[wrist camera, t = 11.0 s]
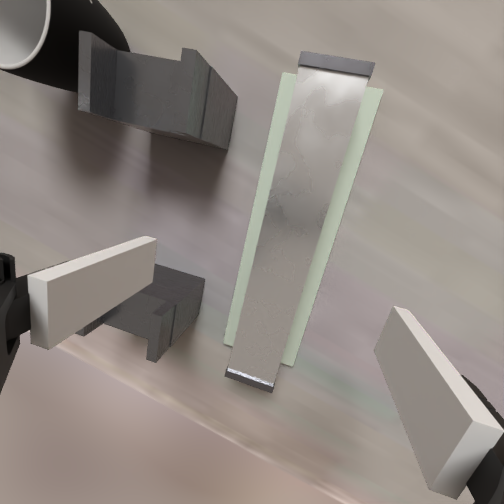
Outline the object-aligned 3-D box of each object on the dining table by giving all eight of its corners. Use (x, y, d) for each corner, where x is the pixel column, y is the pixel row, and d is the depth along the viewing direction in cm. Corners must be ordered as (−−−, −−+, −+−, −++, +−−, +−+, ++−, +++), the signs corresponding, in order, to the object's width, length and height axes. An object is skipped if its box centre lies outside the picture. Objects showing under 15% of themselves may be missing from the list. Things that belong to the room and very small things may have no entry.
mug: (156, 36, 26) (65, -51, 16) (125, 123, 29) (33, 93, 19) (59, -23, 26) (-85, -141, 17) (39, 68, 29) (-93, 13, 20)
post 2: (136, 293, 34) (74, 333, 25) (139, 258, 33) (74, 287, 24) (198, 314, 33) (156, 363, 24) (205, 278, 31) (162, 317, 23)
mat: (224, 340, 33) (222, 343, 33) (283, 74, 24) (282, 72, 24) (293, 363, 32) (292, 366, 31) (381, 91, 23) (383, 89, 22)
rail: (278, 360, 31) (272, 393, 27) (237, 346, 32) (224, 376, 27) (361, 88, 23) (375, 62, 18) (303, 78, 23) (301, 50, 19)
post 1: (150, 132, 28) (77, 109, 19) (155, 81, 27) (77, 30, 18) (228, 149, 27) (187, 133, 18) (237, 96, 26) (197, 50, 17)
